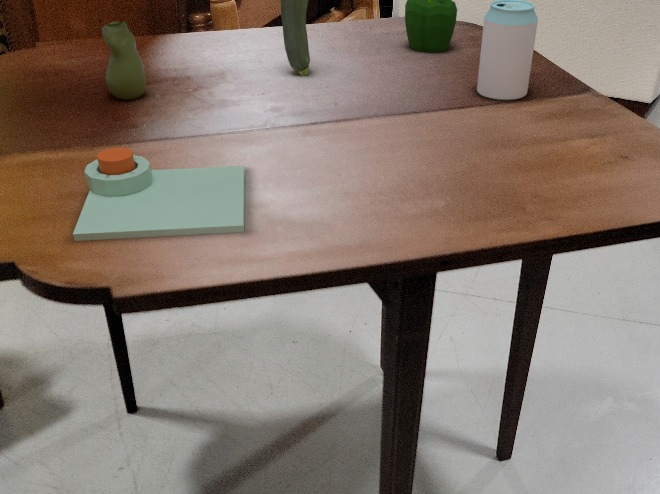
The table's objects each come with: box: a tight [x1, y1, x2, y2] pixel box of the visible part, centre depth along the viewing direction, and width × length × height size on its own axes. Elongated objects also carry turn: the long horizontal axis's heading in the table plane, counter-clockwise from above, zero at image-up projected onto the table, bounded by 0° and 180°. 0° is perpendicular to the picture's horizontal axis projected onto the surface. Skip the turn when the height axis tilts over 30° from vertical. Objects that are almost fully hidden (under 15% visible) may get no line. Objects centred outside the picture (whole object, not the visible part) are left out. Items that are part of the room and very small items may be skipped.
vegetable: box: [280, 0, 311, 77], centre depth 104 cm, size 4×4×20 cm
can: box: [476, 0, 539, 101], centre depth 100 cm, size 7×7×12 cm
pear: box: [100, 21, 147, 101], centre depth 99 cm, size 6×5×10 cm
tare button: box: [96, 147, 136, 175], centre depth 76 cm, size 4×4×2 cm
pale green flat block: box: [72, 154, 246, 242], centre depth 75 cm, size 16×14×3 cm
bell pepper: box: [404, 0, 458, 54], centre depth 118 cm, size 8×8×10 cm
